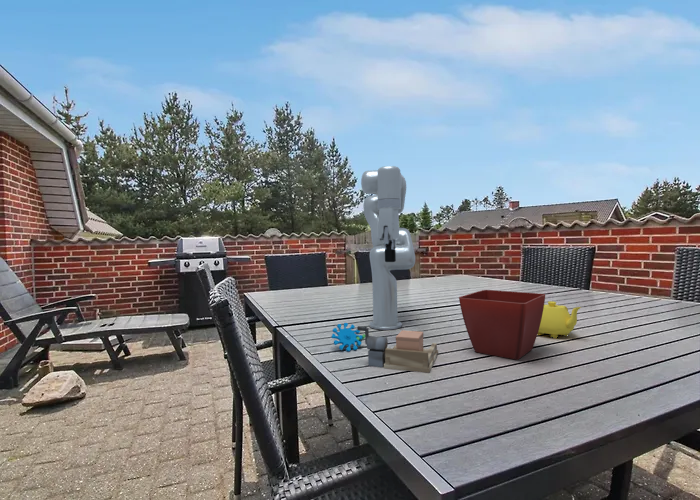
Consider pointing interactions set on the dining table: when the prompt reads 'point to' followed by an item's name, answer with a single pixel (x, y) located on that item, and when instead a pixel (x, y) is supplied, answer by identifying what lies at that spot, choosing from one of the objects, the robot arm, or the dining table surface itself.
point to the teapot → (557, 320)
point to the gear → (347, 337)
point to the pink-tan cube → (410, 340)
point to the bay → (397, 355)
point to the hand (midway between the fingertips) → (390, 261)
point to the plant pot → (502, 321)
